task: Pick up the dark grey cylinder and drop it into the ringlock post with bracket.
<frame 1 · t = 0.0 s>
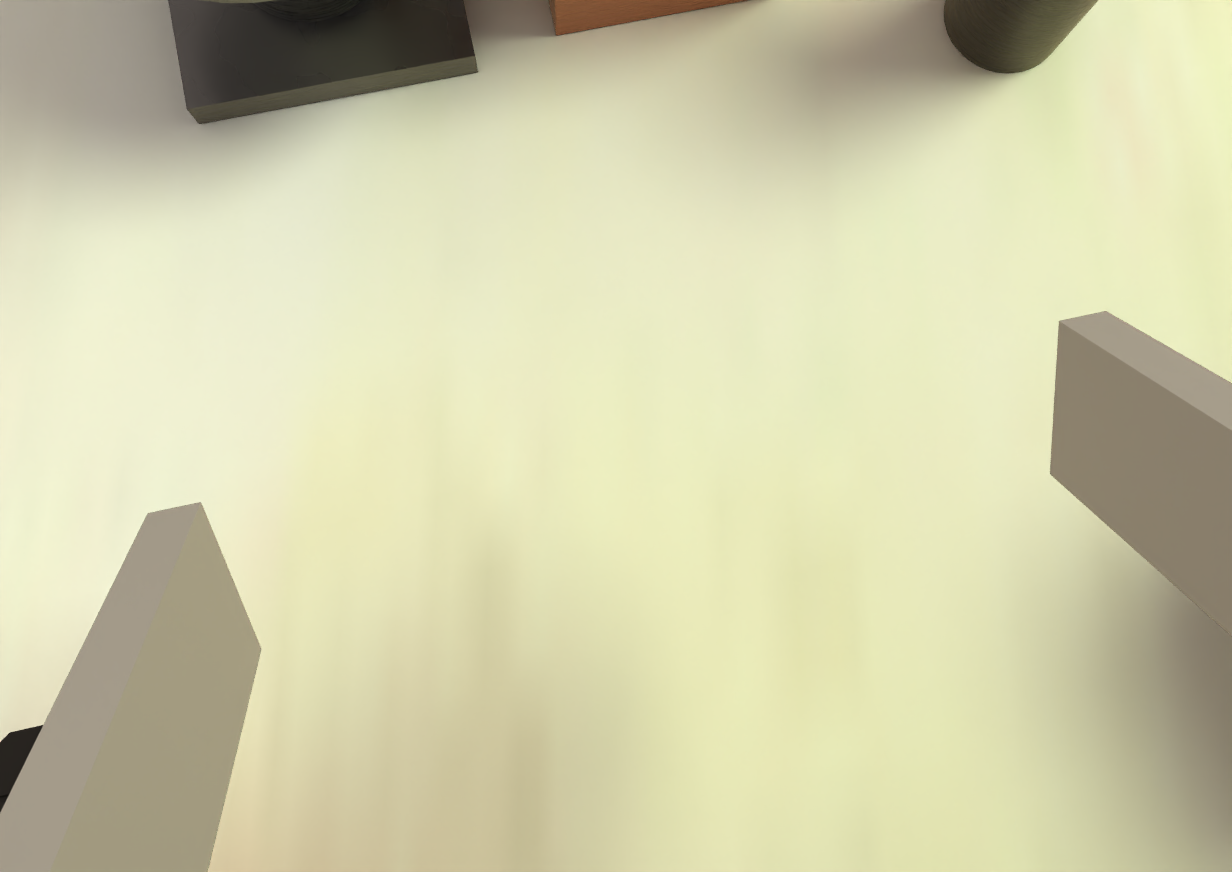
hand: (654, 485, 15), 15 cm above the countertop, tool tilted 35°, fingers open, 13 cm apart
dark grey cylinder: (1003, 17, 34), on the countertop
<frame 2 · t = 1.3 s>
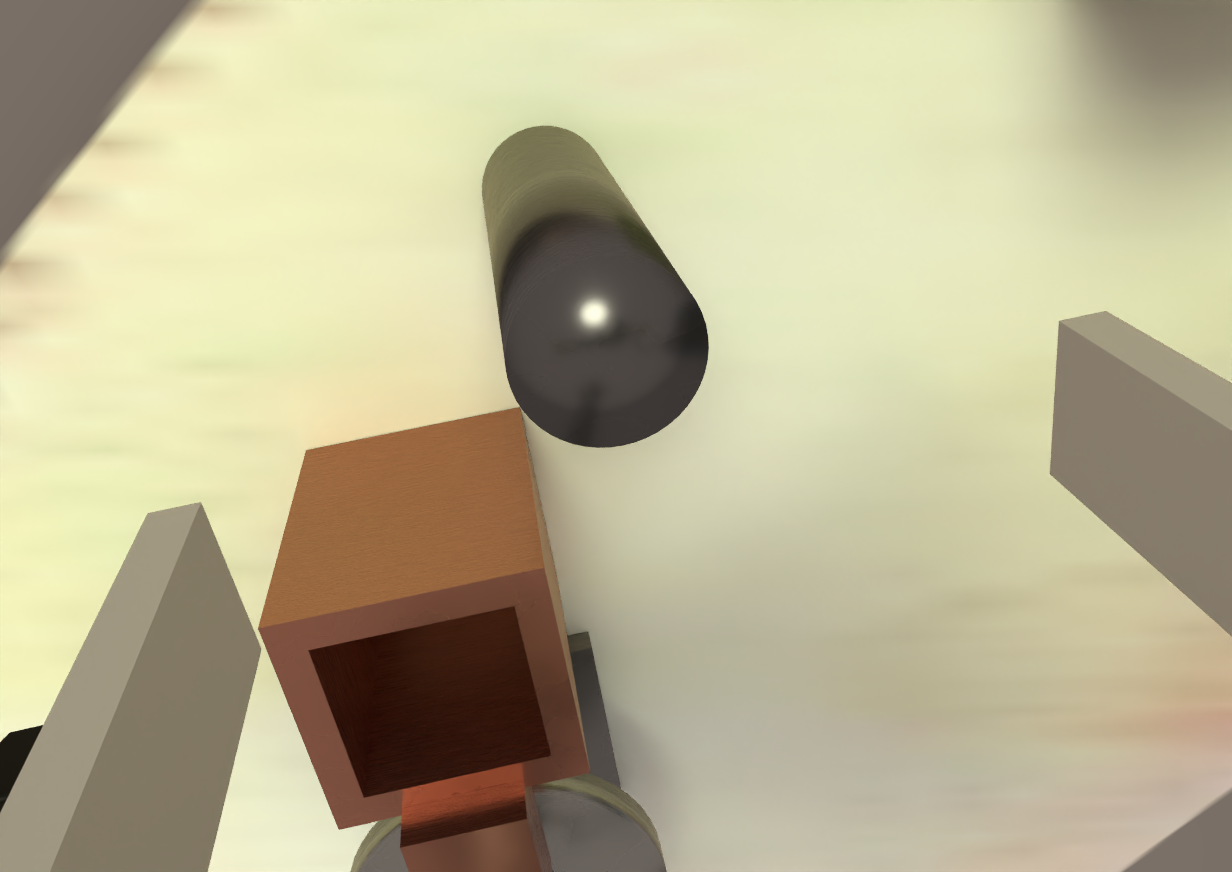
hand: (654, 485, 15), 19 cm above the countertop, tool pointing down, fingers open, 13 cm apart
dark grey cylinder: (545, 190, 32), on the countertop
ringlock post with bracket: (499, 739, 42), on the countertop
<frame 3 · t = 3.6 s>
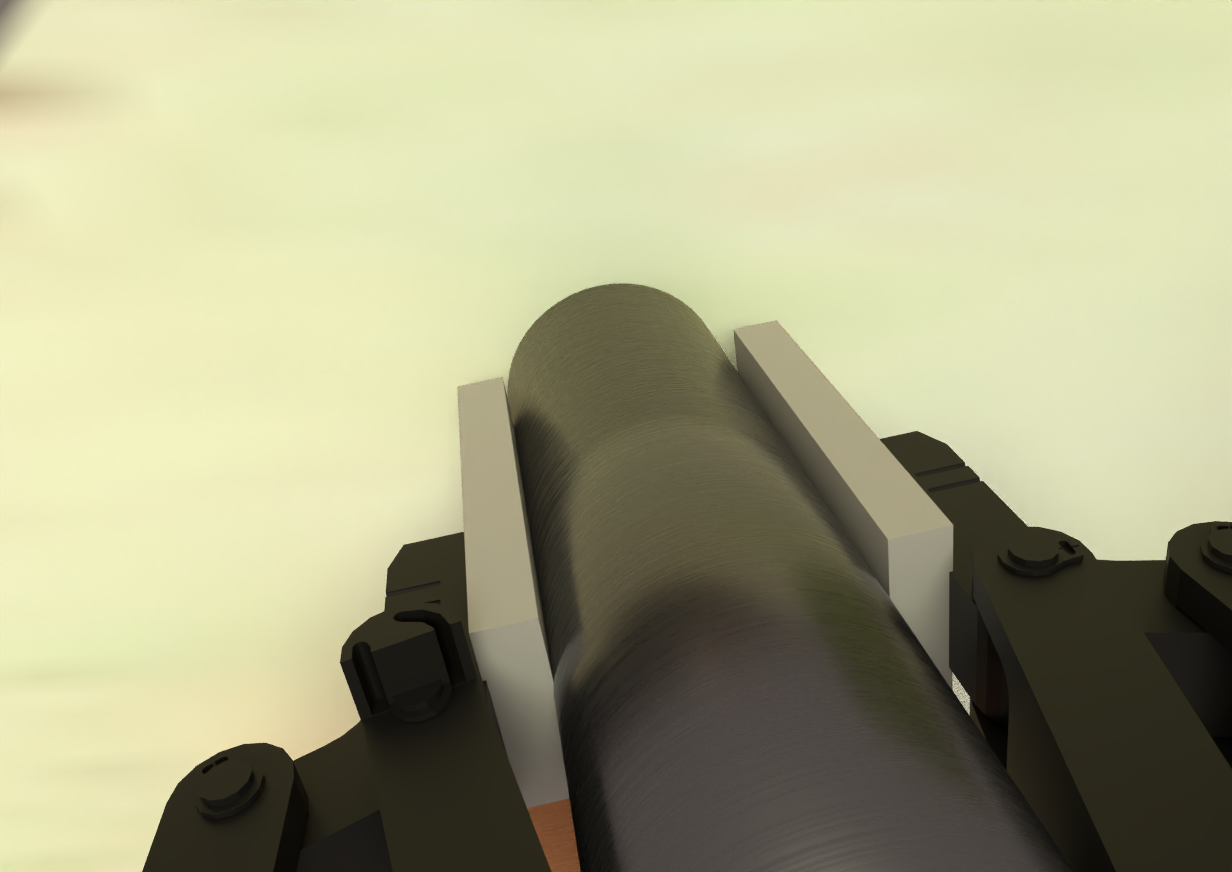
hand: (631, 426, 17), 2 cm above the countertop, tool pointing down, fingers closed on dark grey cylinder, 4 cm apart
dark grey cylinder: (616, 387, 19), on the countertop, touching gripper
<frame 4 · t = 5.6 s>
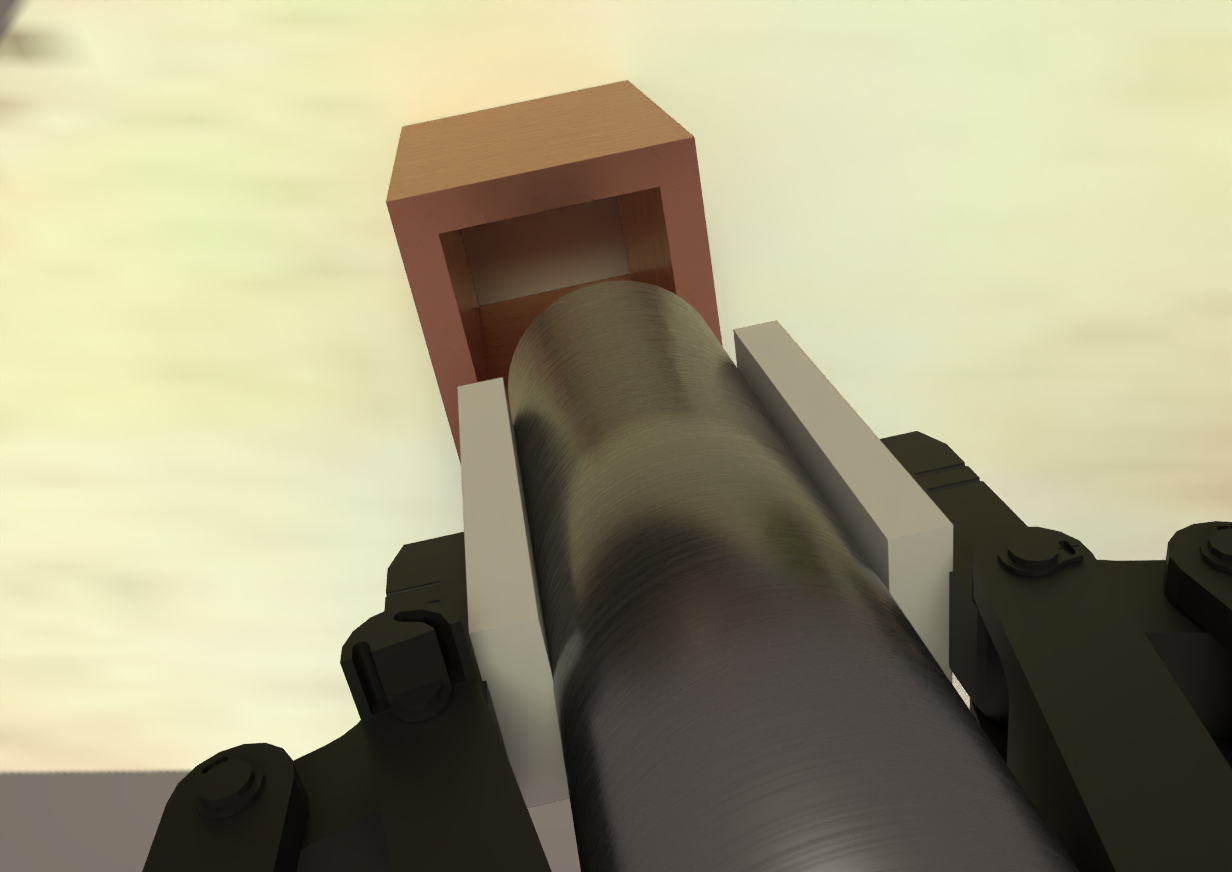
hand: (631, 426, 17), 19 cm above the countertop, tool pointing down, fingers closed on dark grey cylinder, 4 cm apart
dark grey cylinder: (616, 384, 19), point 17 cm above the countertop, touching gripper
ringlock post with bracket: (596, 485, 40), on the countertop
when the fingers open (11 cm above the countertop, at t = 7.7 s): dark grey cylinder drops 7 cm, resting in ringlock post with bracket.
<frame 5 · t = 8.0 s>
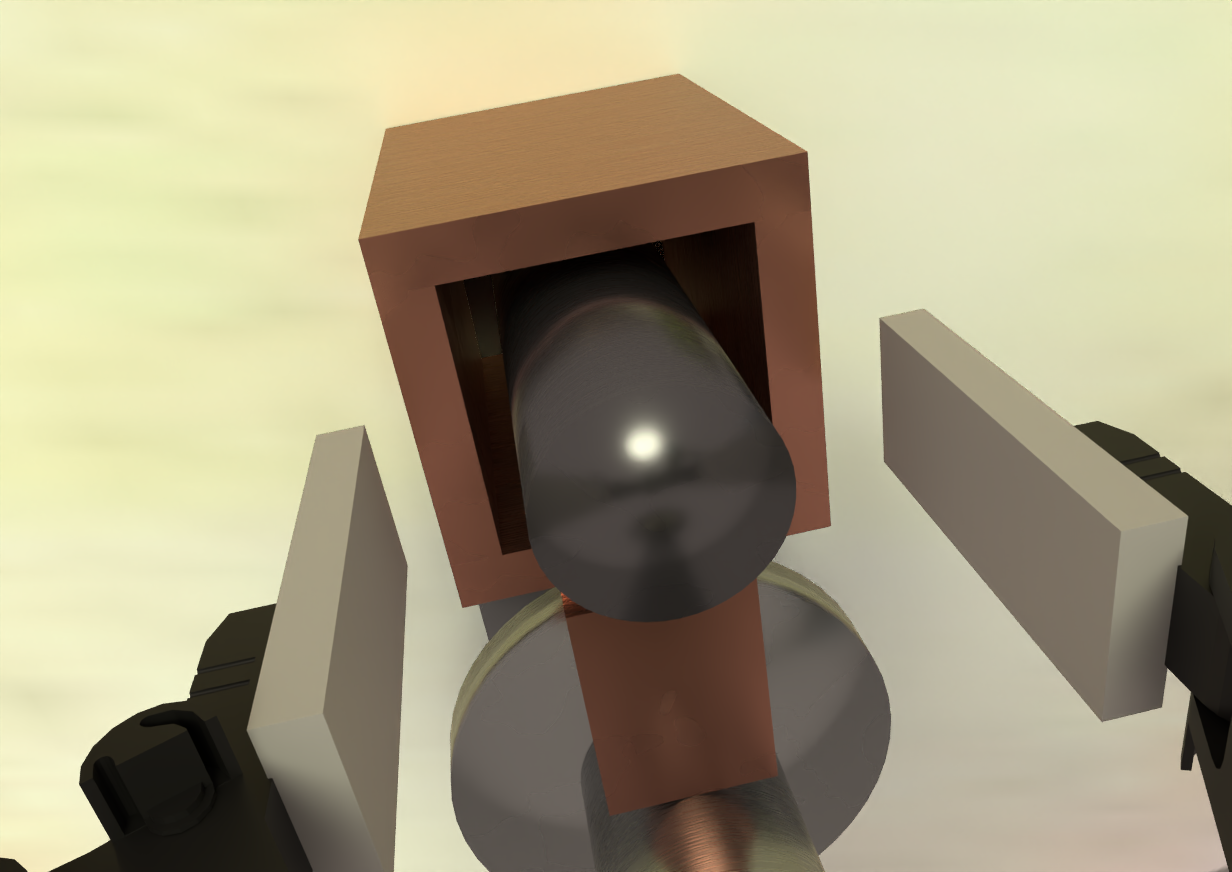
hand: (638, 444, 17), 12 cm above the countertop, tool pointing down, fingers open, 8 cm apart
dark grey cylinder: (562, 242, 27), resting in ringlock post with bracket
ringlock post with bracket: (621, 574, 32), on the countertop
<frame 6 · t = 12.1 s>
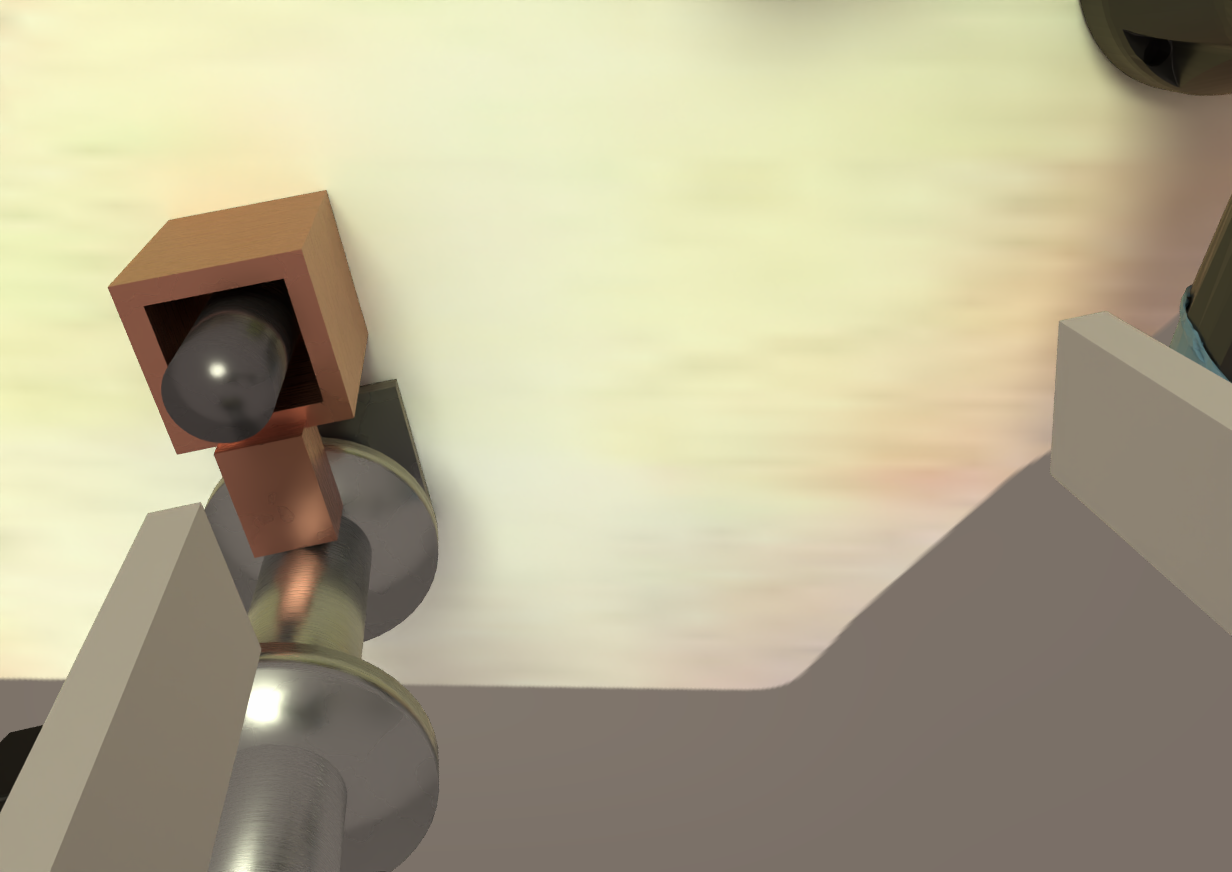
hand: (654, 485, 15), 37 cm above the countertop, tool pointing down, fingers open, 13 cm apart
dark grey cylinder: (273, 278, 50), resting in ringlock post with bracket
ringlock post with bracket: (335, 469, 55), on the countertop
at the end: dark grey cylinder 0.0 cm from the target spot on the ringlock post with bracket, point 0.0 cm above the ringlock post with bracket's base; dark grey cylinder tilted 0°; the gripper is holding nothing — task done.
